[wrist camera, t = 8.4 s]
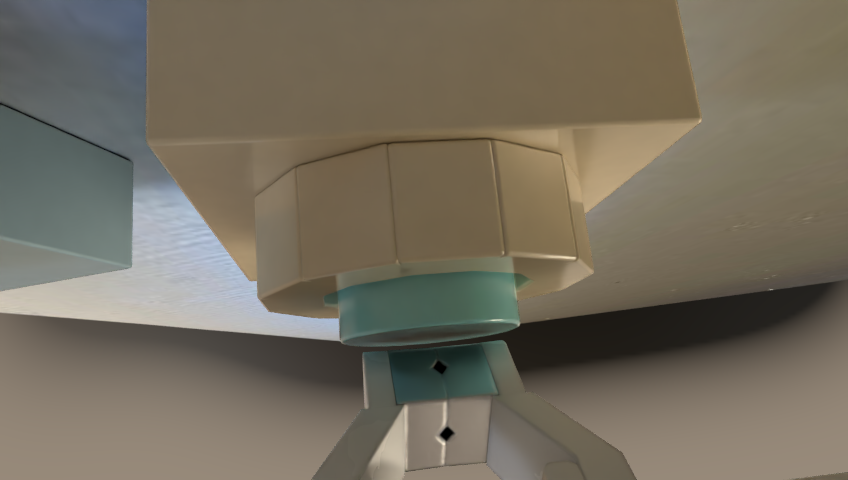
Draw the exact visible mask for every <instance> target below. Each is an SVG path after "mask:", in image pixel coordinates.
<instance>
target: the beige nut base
mask: <svg viewBox="0 0 848 480" xmlns="http://www.w3.org/2000/svg"><path fill="white" fill-rule="evenodd" d="M701 121H702V115H701V110H700V106H699V101H698V96H697V92H696V87H695V82H694V78H693V73H692V68H691V64H690V59H689V54H688V50H687V45H686V41H685V36H684V31H683V27H682V22H681V17H680V13H679V8H678V3H677V0H147V34H146V143H147V145H148V146H149V148H150V149H151V150H152V152H153V153H154V154H155V156H156V157H157V158H158V160H159V161H160V162H161V164H162V165H163V166H164V168H165V169H166V170H167V172H168V173H169V174H170V176H171V177H172V178H173V180H174V181H175V182H176V184H177V185H178V186H179V188H180V189H181V190H182V192H183V193H184V194H185V196H186V197H187V198H188V200H189V201H190V202H191V204H192V205H193V206H194V208H195V209H196V210H197V212H198V213H199V214H200V216H201V217H202V218H203V220H204V221H205V222H206V224H207V225H208V226H209V228H210V229H211V230H212V232H213V233H214V234H215V236H216V237H217V238H218V240H219V241H220V242H221V244H222V245H223V246H224V248H225V249H226V250H227V252H228V253H229V254H230V256H231V257H232V258H233V260H234V261H235V262H236V264H237V265H238V267H239V268H240V269H241V271H242V272H243V273H244V275H245V276H246V277H247V279H248V280H249V281H257V296H258V299H259V300H260V301H261V303H262V304H263V305H264V307H265V308H266V309H267V310H268V312H274V313H281V314H289V315H296V316H303V317H311V318H339V317H338V302H337V291H339V290H341V289H344V288H347V287H349V286H353V285H359V284H365V283H371V282H376V281H382V280H388V279H393V278H399V277H405V276H410V275H423V274H437V273H451V272H465V271H488V272H506V273H514V276H515V284H516V291H517V299H518V301H519V300H523V299H527V298H531V297H535V296H539V295H543V294H548V293H552V292H556V291H560V290H562V289H565V288H567V287H569V286H571V285H572V284H574V283H576V282H578V281H580V280H582V279H584V278H586V277H587V276H589V275H591V274H592V273H593V272H594V268H593V262H592V255H591V249H590V243H589V237H588V231H587V225H586V218H585V214H586V213H588V212H589V211H590V210H591V209H593V208H594V207H595V206H596V205H598V204H599V203H600V202H601V201H603V200H604V199H605V198H606V197H608V196H609V195H610V194H611V193H613V192H614V191H615V190H617V189H618V188H619V187H620V186H622V185H623V184H624V183H625V182H627V181H628V180H629V179H630V178H632V177H633V176H634V175H635V174H637V173H638V172H639V171H640V170H642V169H643V168H644V167H645V166H647V165H648V164H649V163H650V162H652V161H653V160H654V159H656V158H657V157H658V156H659V155H661V154H662V153H663V152H664V151H666V150H667V149H668V148H669V147H671V146H672V145H673V144H674V143H676V142H677V141H678V140H679V139H681V138H682V137H683V136H684V135H686V134H687V133H688V132H689V131H691V130H692V129H693V128H695V127H696V126H697V125H698V124H700V123H701Z"/></svg>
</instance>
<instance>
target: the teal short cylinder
mask: <svg viewBox="0 0 848 480" xmlns="http://www.w3.org/2000/svg"><path fill="white" fill-rule="evenodd" d="M337 302H338V317H339V333H340V341H341V342H342V343H343V344H346V345H351V346H397V345H412V344H423V343H434V342H443V341H452V340H460V339H467V338H474V337H481V336H486V335H492V334H497V333H501V332H505V331H509V330H512V329H514V328H516V327H518V326H519V325H520V314H519V306H518V299H517V291H516V284H515V276H514V273H506V272H488V271H465V272H451V273H437V274H423V275H410V276H405V277H399V278H393V279H388V280H382V281H376V282H371V283H365V284H359V285H353V286H349V287H347V288H344V289H341V290H339V291H337Z"/></svg>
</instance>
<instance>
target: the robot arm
mask: <svg viewBox="0 0 848 480" xmlns="http://www.w3.org/2000/svg"><path fill="white" fill-rule="evenodd" d="M363 377H364V401H365V409H361V411H360V412H359V413H358V415H357V416H356V418H355V419H354V420H353V422H352V423H351V425H350V426H349V427H348V429H347V430H346V432H345V433H344V434H343V436H342V437H341V439H340V440H339V441H338V443H337V444H336V446H335V447H334V449H333V450H332V451H331V453H330V454H329V455H328V457H327V458H326V460H325V461H324V462H323V464H322V465H321V467H320V468H319V470H318V471H317V472H316V474H315V475H314V476H313V478H312V479H311V480H402V479H403V477H404V475H405V472H408V471H415V470H423V469H430V468H437V467H443V466H455V465H466V464H477V463H487V466H488V467H489V468H490V469H491V470H492V471H493V472H494V473H495V474H496V475H497V476H498V477H499V478H500V479H501V480H637V479H636V477H635V476H634V474H633V472H632V470H631V468H630V466H629V464H628V463H627V460H626V459H625V457H624V455H623V453H622V452H621V451H619V450H618V449H616V448H615V447H613V446H612V445H610V444H609V443H607V442H606V441H604V440H603V439H601V438H600V437H598V436H597V435H596V434H594V433H593V432H591V431H590V430H588V429H587V428H585V427H584V426H582V425H581V424H579V423H578V422H576V421H575V420H573V419H572V418H570V417H569V416H567V415H566V414H565V413H563V412H562V411H560V410H559V409H557V408H556V407H554V406H553V405H551V404H550V403H548V402H547V401H545V400H544V399H542V398H541V397H539V396H538V395H536V394H535V393H533V392H528V393H526V391H525V388H524V386H523V384H522V381H521V379H520V376H519V374H518V372H517V369H516V367H515V365H514V362H513V360H512V357H511V355H510V353H509V350H508V347H507V345H506V343H505V342H504V341H502V340H501V341H492V342H483V343H479V344H467V345H457V346H446V347H435V348H420V349H404V350H389V351H388V352H387V351H379V352H364V353H363ZM789 480H848V472H844V473H836V474H828V475H820V476H813V477H805V478H797V479H789Z"/></svg>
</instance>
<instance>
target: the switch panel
mask: <svg viewBox="0 0 848 480" xmlns="http://www.w3.org/2000/svg"><path fill="white" fill-rule="evenodd" d="M132 224H133V163H132V162H131V161H128V160H126V159H124V158H122V157H119V156H117V155H115V154H112V153H110V152H108V151H106V150H103V149H101V148H99V147H97V146H94V145H92V144H90V143H87V142H85V141H83V140H81V139H78V138H76V137H74V136H71V135H69V134H67V133H65V132H62V131H60V130H58V129H56V128H53V127H51V126H49V125H46V124H44V123H42V122H40V121H37V120H35V119H33V118H31V117H28V116H26V115H24V114H21V113H19V112H17V111H15V110H12V109H10V108H8V107H5V106H3V105H1V104H0V291H4V290H10V289H16V288H21V287H27V286H33V285H38V284H44V283H50V282H55V281H61V280H67V279H72V278H78V277H83V276H89V275H95V274H100V273H106V272H112V271H117V270H123V269H128V268H131V267H132Z"/></svg>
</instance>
